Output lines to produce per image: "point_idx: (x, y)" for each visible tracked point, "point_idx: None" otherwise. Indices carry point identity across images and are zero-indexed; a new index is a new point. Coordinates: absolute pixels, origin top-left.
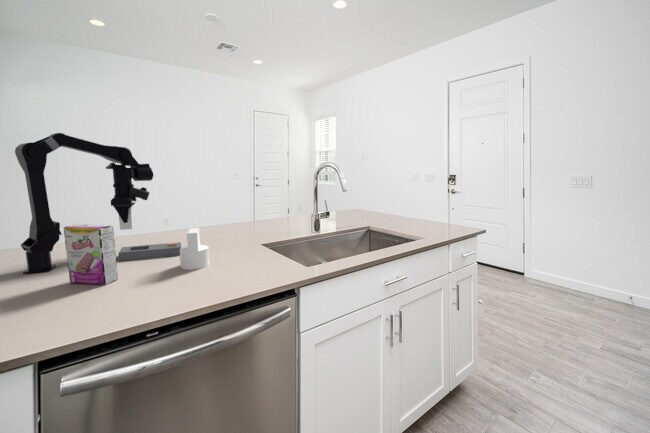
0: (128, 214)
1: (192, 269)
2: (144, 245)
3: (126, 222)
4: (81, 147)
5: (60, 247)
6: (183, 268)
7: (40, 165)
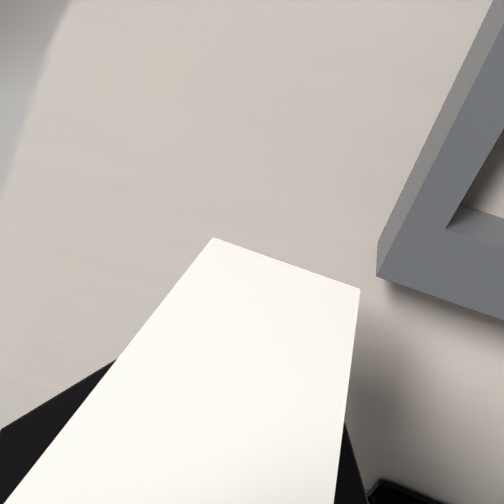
0: None
1: None
2: (475, 107)
3: (343, 426)
4: None
5: (15, 377)
6: None
7: None
